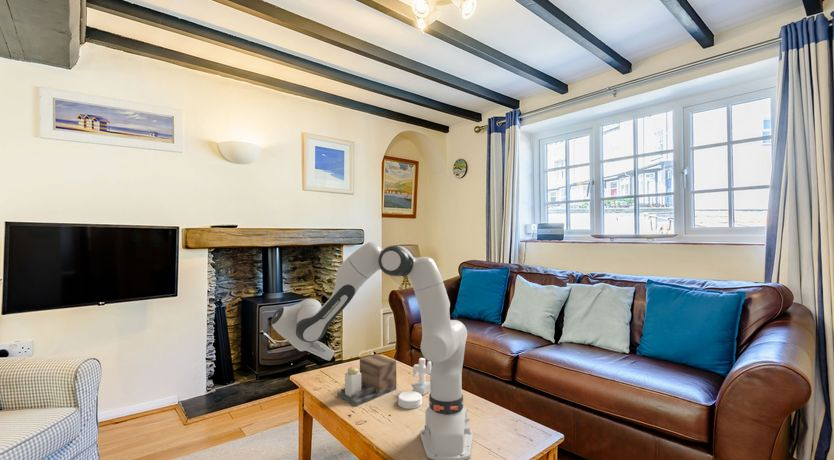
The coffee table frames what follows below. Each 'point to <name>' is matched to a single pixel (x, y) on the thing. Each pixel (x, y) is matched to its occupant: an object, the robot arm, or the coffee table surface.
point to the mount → (373, 379)
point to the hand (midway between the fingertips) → (326, 357)
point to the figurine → (421, 376)
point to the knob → (352, 381)
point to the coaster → (410, 399)
